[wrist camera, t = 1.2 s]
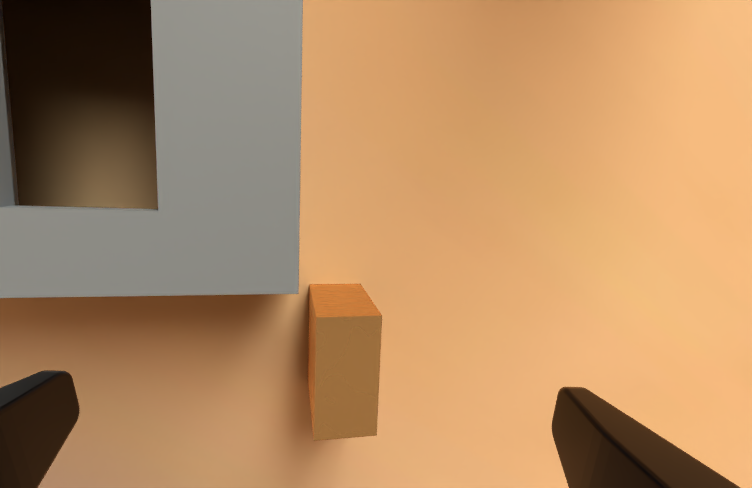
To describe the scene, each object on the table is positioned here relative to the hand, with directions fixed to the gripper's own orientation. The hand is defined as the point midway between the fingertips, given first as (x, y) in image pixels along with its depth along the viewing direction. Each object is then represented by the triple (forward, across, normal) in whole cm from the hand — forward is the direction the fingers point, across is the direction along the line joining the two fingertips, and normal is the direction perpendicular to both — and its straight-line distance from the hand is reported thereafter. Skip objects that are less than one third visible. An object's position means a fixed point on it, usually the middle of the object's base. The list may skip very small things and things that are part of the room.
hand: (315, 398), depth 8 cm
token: (+12, +1, +6) cm, 14 cm away
